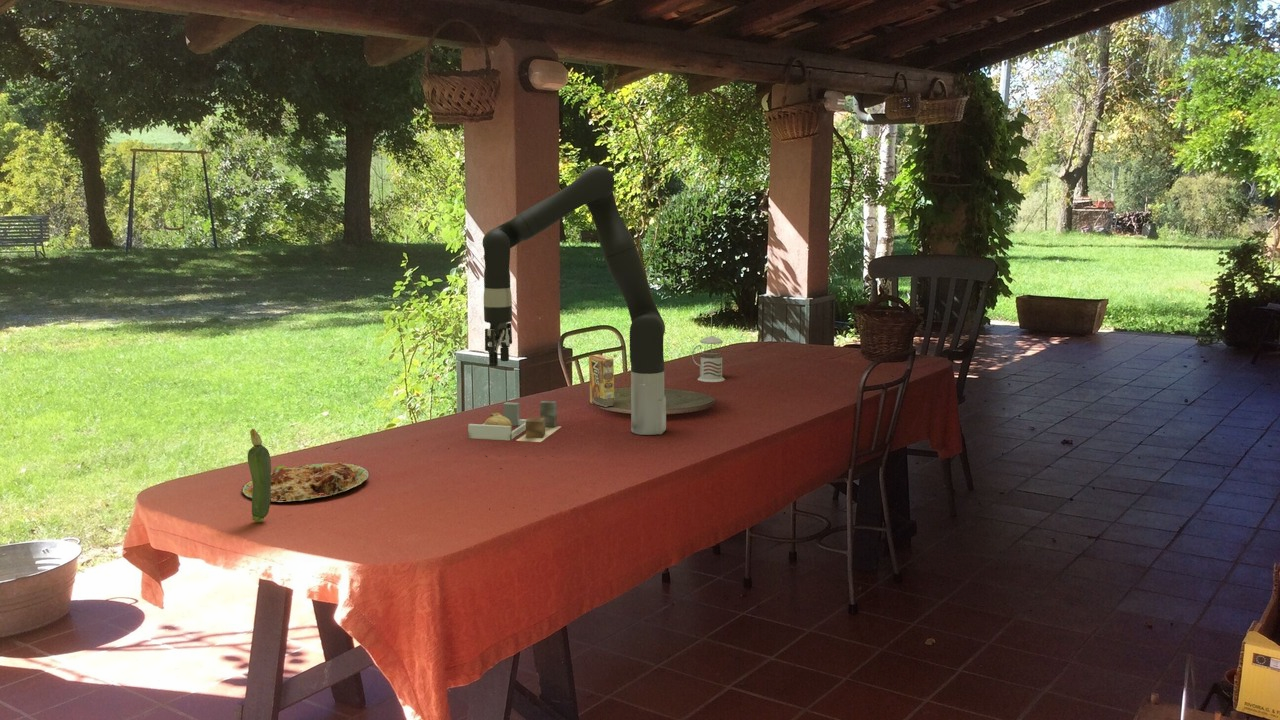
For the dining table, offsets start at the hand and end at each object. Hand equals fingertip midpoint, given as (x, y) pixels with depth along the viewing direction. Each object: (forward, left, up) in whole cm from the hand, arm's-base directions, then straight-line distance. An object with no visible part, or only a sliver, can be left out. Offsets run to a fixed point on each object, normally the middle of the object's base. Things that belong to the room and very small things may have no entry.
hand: (499, 363), depth 278 cm
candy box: (-17, -45, -20) cm, 52 cm away
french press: (-43, -94, -20) cm, 105 cm away
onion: (0, +2, -20) cm, 21 cm away
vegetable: (+21, +80, -20) cm, 85 cm away
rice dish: (+26, +55, -21) cm, 64 cm away
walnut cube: (-11, +3, -19) cm, 22 cm away
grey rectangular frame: (0, 0, -20) cm, 20 cm away
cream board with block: (-11, 0, -20) cm, 23 cm away
